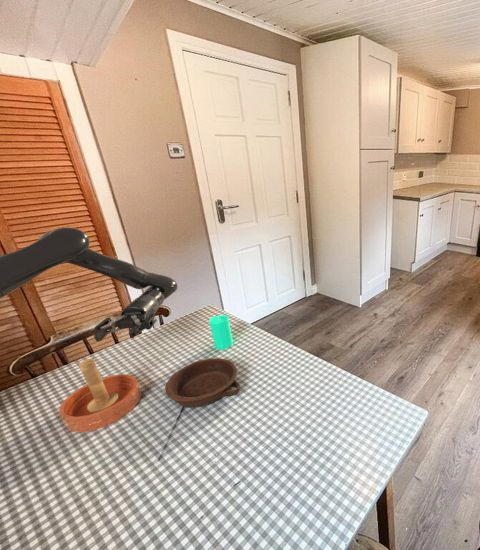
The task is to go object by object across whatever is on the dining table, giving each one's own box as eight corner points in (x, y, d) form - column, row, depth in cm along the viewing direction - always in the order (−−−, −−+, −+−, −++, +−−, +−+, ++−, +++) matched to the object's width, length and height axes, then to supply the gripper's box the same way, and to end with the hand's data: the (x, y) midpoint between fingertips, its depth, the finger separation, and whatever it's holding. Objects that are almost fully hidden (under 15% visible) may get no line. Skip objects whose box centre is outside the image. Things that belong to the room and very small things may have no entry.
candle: (211, 348, 105) (204, 318, 101) (221, 338, 111) (215, 310, 106) (226, 350, 104) (220, 320, 100) (236, 340, 110) (230, 311, 105)
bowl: (50, 439, 72) (41, 424, 70) (91, 392, 86) (85, 378, 84) (123, 428, 75) (117, 413, 73) (152, 384, 89) (147, 371, 87)
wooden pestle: (83, 418, 77) (62, 372, 71) (99, 399, 83) (80, 356, 77) (112, 414, 78) (93, 369, 72) (125, 396, 84) (108, 353, 78)
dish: (219, 421, 77) (215, 406, 75) (147, 407, 81) (141, 393, 79) (256, 375, 92) (254, 362, 91) (194, 365, 97) (191, 353, 95)
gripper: (113, 301, 98) (80, 328, 83) (162, 297, 100) (138, 323, 86) (120, 322, 101) (89, 351, 86) (167, 317, 103) (145, 345, 88)
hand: (114, 337), depth 86 cm, fingers open, 8 cm apart
